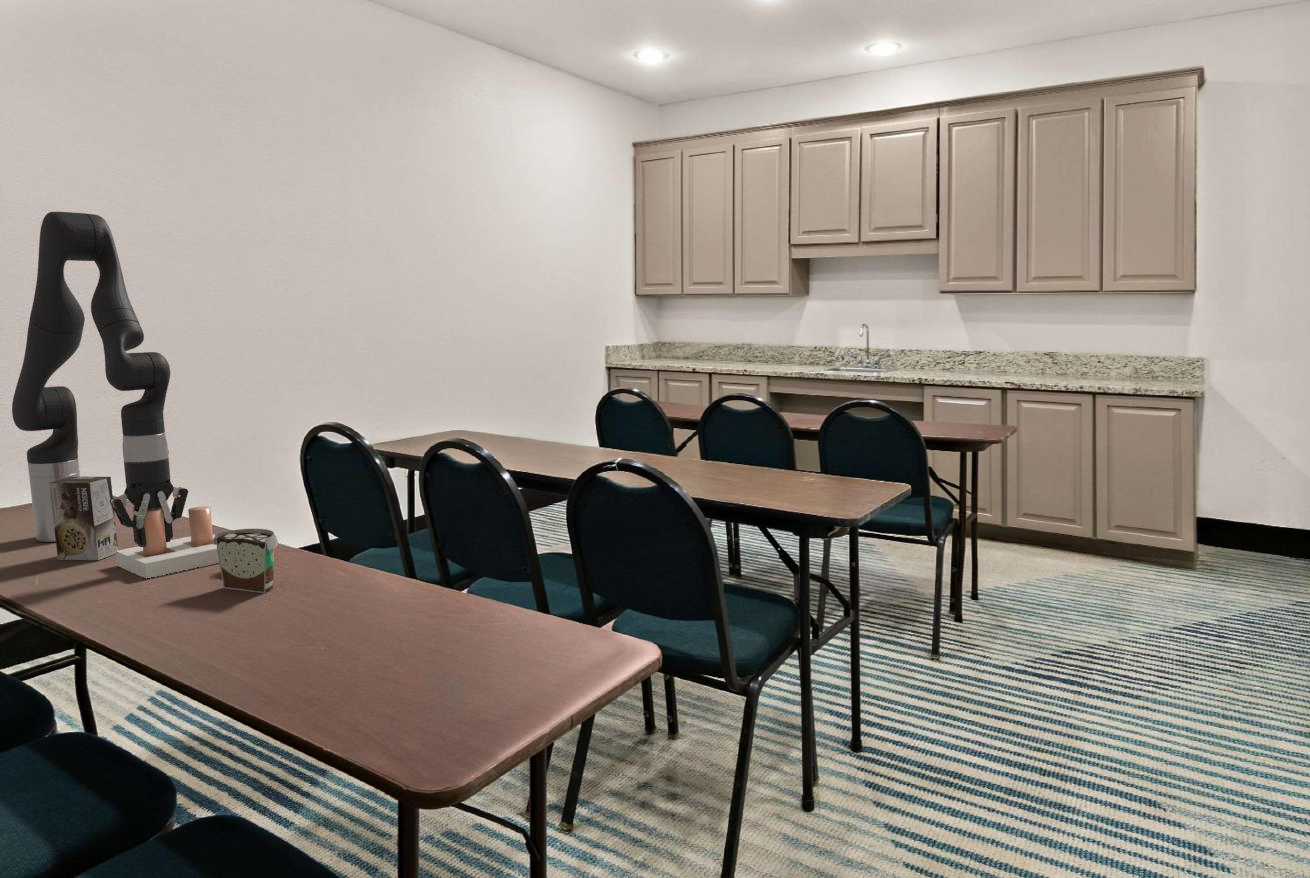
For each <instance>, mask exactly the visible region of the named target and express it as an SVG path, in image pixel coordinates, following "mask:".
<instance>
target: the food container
mask: <svg viewBox="0 0 1310 878" xmlns="http://www.w3.org/2000/svg"><path fill="white" fill-rule="evenodd" d="M214 535H215V537H214V545H217V551H218V557H219V563H218V564H219V569H220V575H221V580H222V581H221V582H222V587H223V589H228V590H235V591H242V592H243V591H244V592H250V593H251V592H252V593H258V594H266V593H269V592H270V591H272V590H273V589H274V572H275V571H274V569H275V567H274V566H275V557H274V548H275V547H278V545H279V542H278V538H277V535H276V534H275V531H273V530H271V529H267V528H266V529H265V528H242V529H241V528H240V529H232V530H226V531H221V532H218V533H214Z"/></svg>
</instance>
